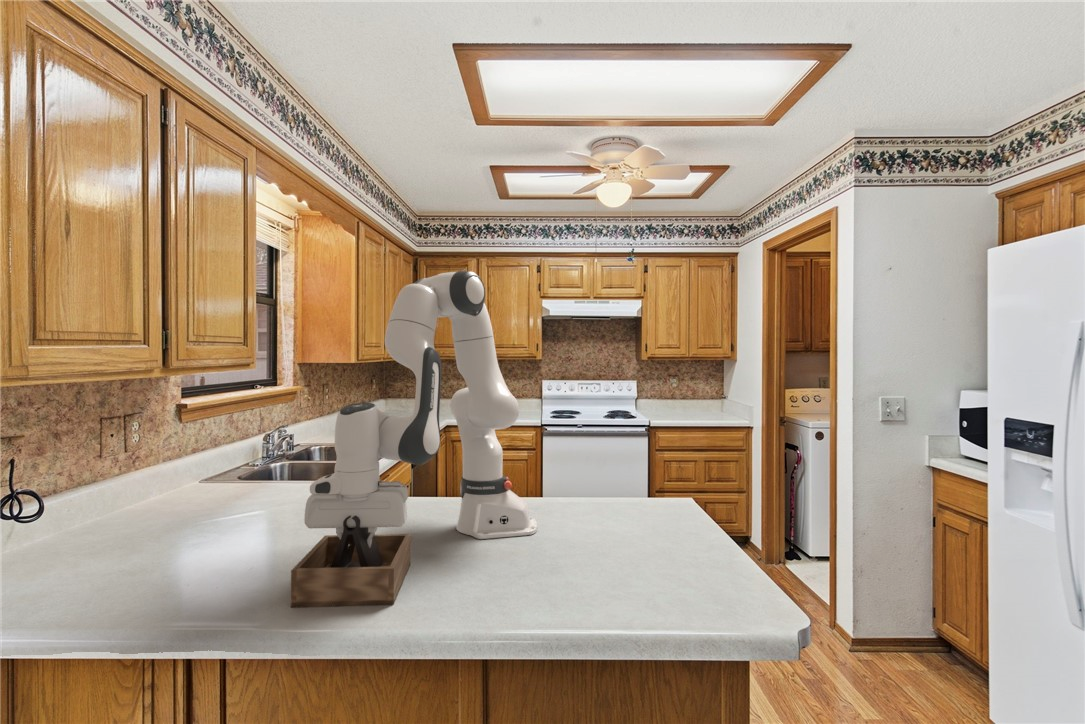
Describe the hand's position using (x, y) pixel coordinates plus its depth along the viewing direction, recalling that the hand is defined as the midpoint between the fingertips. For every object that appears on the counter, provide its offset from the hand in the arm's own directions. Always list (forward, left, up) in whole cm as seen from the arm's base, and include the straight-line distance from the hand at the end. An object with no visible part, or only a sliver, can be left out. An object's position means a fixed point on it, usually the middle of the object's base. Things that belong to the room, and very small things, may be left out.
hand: (356, 547), depth 108 cm
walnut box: (0, 0, -8) cm, 8 cm away
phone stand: (0, 0, -5) cm, 5 cm away
